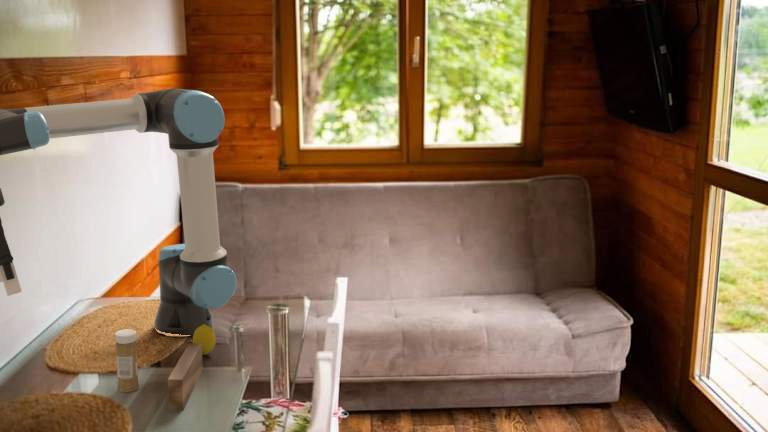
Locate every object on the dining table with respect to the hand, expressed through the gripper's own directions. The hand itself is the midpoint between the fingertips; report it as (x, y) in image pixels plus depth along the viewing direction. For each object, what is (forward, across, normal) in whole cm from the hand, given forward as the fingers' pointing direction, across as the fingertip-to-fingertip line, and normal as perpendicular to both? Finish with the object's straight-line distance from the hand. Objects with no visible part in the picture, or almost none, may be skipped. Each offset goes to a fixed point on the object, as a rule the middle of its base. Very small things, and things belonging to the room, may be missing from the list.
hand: (9, 287), depth 165 cm
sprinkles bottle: (+28, +8, +16) cm, 34 cm away
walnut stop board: (+31, +14, +27) cm, 43 cm away
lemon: (+32, -2, +38) cm, 49 cm away
